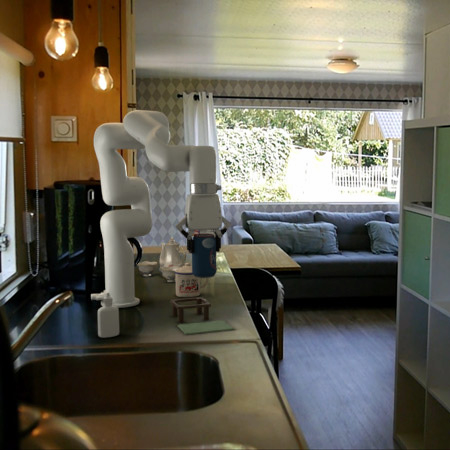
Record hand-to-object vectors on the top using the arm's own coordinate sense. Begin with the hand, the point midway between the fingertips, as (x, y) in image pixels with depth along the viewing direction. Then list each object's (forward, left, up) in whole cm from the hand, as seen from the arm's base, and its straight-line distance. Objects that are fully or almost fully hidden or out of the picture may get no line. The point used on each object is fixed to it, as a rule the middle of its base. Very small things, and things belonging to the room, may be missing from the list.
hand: (204, 251), depth 184 cm
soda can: (0, 0, -7) cm, 7 cm away
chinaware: (+7, +82, -22) cm, 85 cm away
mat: (0, 0, -22) cm, 22 cm away
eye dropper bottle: (-27, +2, -22) cm, 35 cm away
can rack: (-1, +13, -22) cm, 26 cm away
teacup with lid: (+8, +45, -22) cm, 51 cm away
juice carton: (+28, +98, -22) cm, 104 cm away
